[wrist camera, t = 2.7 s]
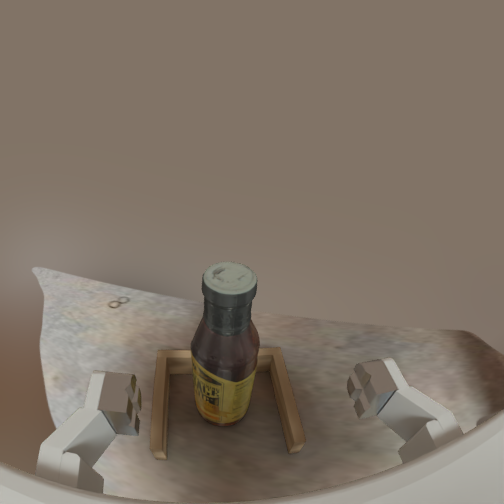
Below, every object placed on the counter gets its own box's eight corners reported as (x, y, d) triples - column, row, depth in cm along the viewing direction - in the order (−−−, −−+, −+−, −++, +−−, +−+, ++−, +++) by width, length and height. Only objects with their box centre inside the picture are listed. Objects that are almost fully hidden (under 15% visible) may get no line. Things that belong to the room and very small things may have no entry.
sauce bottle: (188, 396, 33) (172, 258, 23) (234, 381, 35) (243, 244, 26) (210, 438, 28) (202, 309, 18) (259, 419, 31) (286, 286, 21)
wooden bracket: (156, 459, 24) (149, 448, 23) (161, 366, 36) (157, 349, 34) (299, 452, 27) (306, 440, 25) (276, 363, 39) (280, 347, 37)
